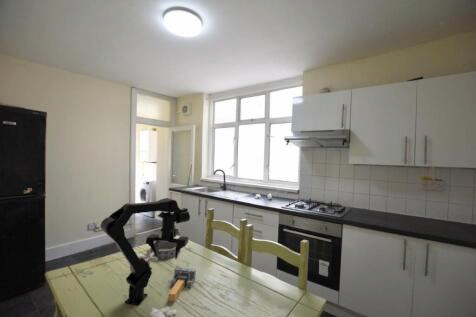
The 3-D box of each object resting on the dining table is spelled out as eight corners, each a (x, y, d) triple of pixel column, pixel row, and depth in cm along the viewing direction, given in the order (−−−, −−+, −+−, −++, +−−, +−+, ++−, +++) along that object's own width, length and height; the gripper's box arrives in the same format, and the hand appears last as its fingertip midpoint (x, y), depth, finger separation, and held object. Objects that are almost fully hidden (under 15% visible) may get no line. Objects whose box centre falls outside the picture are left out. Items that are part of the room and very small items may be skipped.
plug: (176, 301, 91) (176, 292, 91) (166, 300, 92) (167, 291, 92) (189, 280, 107) (189, 272, 107) (181, 279, 108) (181, 271, 108)
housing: (191, 287, 101) (191, 275, 101) (170, 285, 102) (171, 273, 102) (195, 279, 107) (195, 269, 107) (176, 277, 109) (176, 267, 108)
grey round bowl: (172, 261, 126) (172, 252, 126) (144, 257, 129) (144, 249, 129) (184, 248, 144) (185, 240, 144) (159, 245, 147) (159, 238, 147)
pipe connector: (160, 263, 122) (161, 246, 122) (152, 273, 112) (152, 253, 112) (144, 262, 123) (144, 244, 123) (134, 271, 113) (134, 252, 113)
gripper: (192, 221, 109) (190, 252, 109) (156, 219, 111) (155, 249, 111) (185, 228, 98) (183, 263, 98) (146, 226, 99) (144, 259, 99)
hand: (166, 258), depth 102 cm, fingers open, 9 cm apart
